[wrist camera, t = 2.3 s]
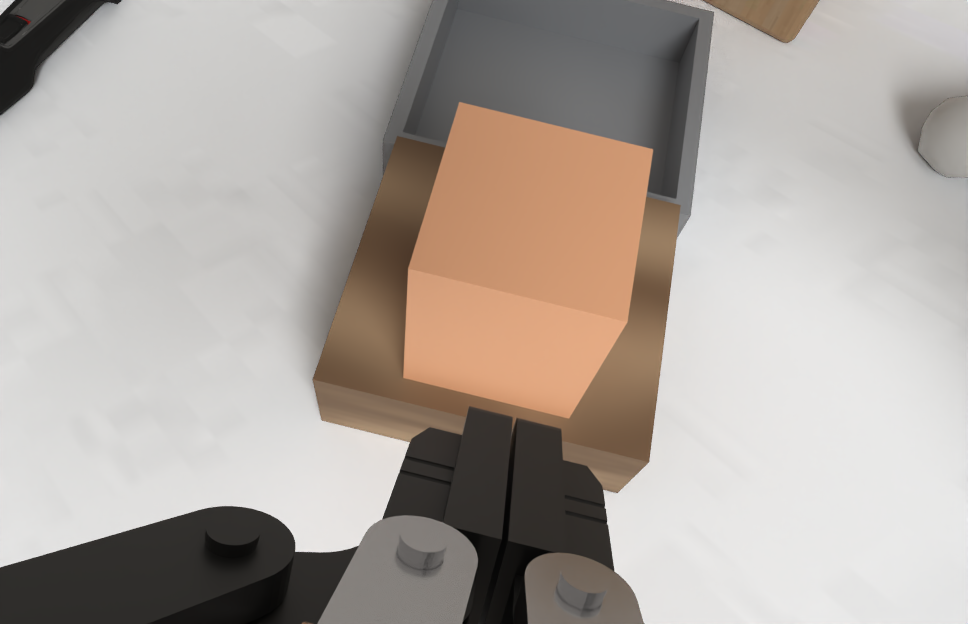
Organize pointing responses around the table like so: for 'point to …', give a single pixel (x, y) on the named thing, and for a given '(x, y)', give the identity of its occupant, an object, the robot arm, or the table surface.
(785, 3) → the wooden block
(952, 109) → the tube
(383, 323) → the square wooden plinth
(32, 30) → the electric trimmer
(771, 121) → the table surface
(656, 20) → the box
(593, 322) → the terracotta block
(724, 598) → the table surface
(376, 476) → the table surface
